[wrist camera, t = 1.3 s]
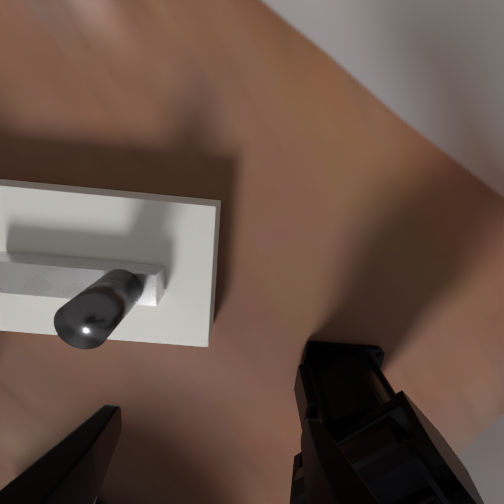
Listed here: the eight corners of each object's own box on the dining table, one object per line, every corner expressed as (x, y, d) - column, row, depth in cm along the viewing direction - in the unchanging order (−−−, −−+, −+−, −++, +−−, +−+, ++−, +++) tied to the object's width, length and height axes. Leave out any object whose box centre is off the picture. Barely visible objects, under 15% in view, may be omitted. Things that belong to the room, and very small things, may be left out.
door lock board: (221, 200, 19) (207, 216, 13) (213, 323, 22) (199, 383, 16) (-134, 165, 18) (-325, 166, 12) (-92, 298, 21) (-228, 351, 15)
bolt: (164, 262, 17) (125, 306, 12) (164, 296, 18) (127, 352, 13) (2, 247, 17) (-114, 286, 12) (8, 283, 18) (-97, 334, 12)
